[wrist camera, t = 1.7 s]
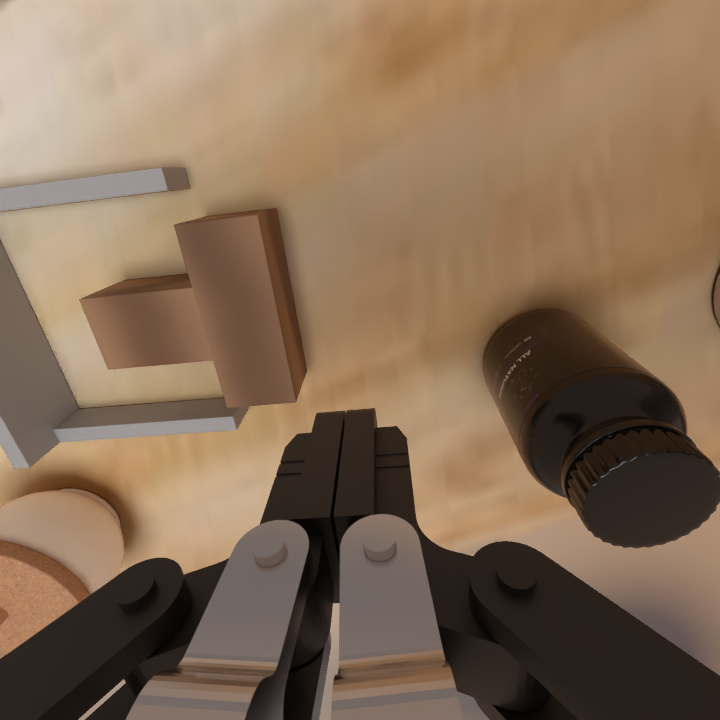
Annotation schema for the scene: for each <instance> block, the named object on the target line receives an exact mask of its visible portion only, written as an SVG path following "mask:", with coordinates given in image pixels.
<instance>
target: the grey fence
mask: <svg viewBox="0 0 720 720" xmlns="http://www.w3.org/2000/svg"><path fill="white" fill-rule="evenodd" d="M189 188H190V187H189V183H188V179H187V176H186V172H185V168H155V169H147V170H139V171H131V172H124V173H116V174H108V175H101V176H93V177H85V178H78V179H70V180H62V181H55V182H47V183H39V184H31V185H24V186H16V187H8V188H1V189H0V212H4V211H12V210H20V209H28V208H36V207H44V206H52V205H60V204H68V203H76V202H84V201H93V200H101V199H109V198H117V197H125V196H133V195H141V194H149V193H157V192H165V191H173V190H181V189H189ZM247 410H248V406H243V407H230V408H227V406H226V402H225V399H224V398H215V399H202V400H189V401H176V402H163V403H150V404H137V405H124V406H111V407H98V408H85V409H79V407H78V405H77V403H76V401H75V399H74V396H73V394H72V392H71V390H70V388H69V386H68V384H67V382H66V379H65V377H64V375H63V373H62V371H61V369H60V367H59V365H58V362H57V360H56V358H55V356H54V354H53V352H52V350H51V348H50V345H49V343H48V341H47V339H46V337H45V335H44V333H43V331H42V328H41V326H40V324H39V322H38V320H37V318H36V316H35V314H34V311H33V309H32V307H31V305H30V303H29V301H28V299H27V297H26V294H25V292H24V290H23V288H22V286H21V284H20V282H19V280H18V277H17V275H16V273H15V271H14V269H13V267H12V265H11V263H10V261H9V258H8V256H7V254H6V252H5V250H4V248H3V246H2V244H1V241H0V445H1V447H2V448H3V450H4V452H5V453H6V455H7V457H8V458H9V460H10V462H11V464H12V465H13V467H14V469H16V468H30V467H31V466H32V465H34V464H35V463H36V462H37V461H38V460H39V459H41V458H42V457H43V456H44V455H45V454H47V453H48V452H49V451H50V450H51V449H52V448H54V447H55V446H56V445H57V444H58V443H60V442H71V441H85V440H99V439H114V438H128V437H142V436H157V435H171V434H186V433H200V432H214V431H229V430H237V429H238V427H239V425H240V423H241V421H242V420H243V418H244V416H245V414H246V412H247Z"/></svg>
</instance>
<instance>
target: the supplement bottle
mask: <svg viewBox="0 0 720 720" xmlns="http://www.w3.org/2000/svg"><path fill="white" fill-rule="evenodd" d="M484 376H485V380H486V383H487V385H488V388H489V390H490V392H491V395H492V397H493V399H494V401H495V403H496V405H497V407H498V409H499V411H500V414H501V416H502V418H503V420H504V422H505V424H506V426H507V428H508V431H509V433H510V435H511V437H512V439H513V441H514V443H515V445H516V447H517V450H518V452H519V454H520V456H521V458H522V460H523V462H524V464H525V465H526V467H527V469H528V471H529V472H530V474H531V475H532V476H533V477H534V478H535V480H536V481H537V482H539V483H540V484H541V485H542V486H544V487H545V488H546V489H548V490H549V491H551V492H553V493H555V494H557V495H559V496H562V497H564V498H567V499H568V501H569V502H570V504H571V505H572V506H573V507H574V508H575V510H576V511H577V513H578V515H579V517H580V518H581V520H582V522H583V524H584V525H585V527H586V528H587V529H588V530H589V531H591V532H592V534H593V535H594V536H595V537H598V538H600V539H601V540H602V541H603V542H607V543H611V544H612V545H614V546H622V547H625V548H627V547H634V548H641V547H652V546H655V545H662V544H665V543H667V542H669V541H674V540H677V539H678V538H680V537H682V536H685V535H688V534H689V533H690V532H691V531H692V530H694V529H697V528H699V526H700V525H701V524H702V523H703V522H705V521H706V520H708V519H709V517H710V515H711V514H712V513H713V512H714V511H715V510H716V507H717V505H718V504H719V502H720V477H719V476H720V472H719V471H718V469H717V468H716V467H715V466H714V464H713V463H712V462H711V460H710V459H709V458H708V457H706V456H705V455H704V454H703V453H702V452H701V451H700V450H699V449H698V448H697V447H696V445H695V444H694V443H693V441H692V440H691V439H690V438H689V437H688V436H687V421H686V415H685V412H684V409H683V407H682V404H681V402H680V401H679V399H678V398H677V396H676V395H675V394H674V393H673V391H672V390H671V389H670V388H669V387H667V386H666V385H665V384H664V383H663V382H662V381H661V380H659V379H658V378H657V377H656V376H654V375H653V374H652V373H650V372H649V371H648V370H647V369H645V368H644V367H643V366H642V365H640V364H639V363H638V362H636V361H635V360H634V359H633V358H631V357H630V356H629V355H627V354H626V353H625V352H624V351H622V350H621V349H620V348H618V347H617V346H616V345H615V344H613V343H612V342H611V341H609V340H608V339H607V338H606V337H604V336H603V335H602V334H600V333H599V332H598V331H597V330H595V329H594V328H593V327H591V326H590V325H589V324H587V323H586V322H585V321H583V320H582V319H580V318H578V317H577V316H575V315H573V314H570V313H567V312H564V311H558V310H539V311H534V312H530V313H527V314H524V315H522V316H520V317H518V318H516V319H514V320H512V321H511V322H509V323H508V324H506V325H505V326H504V327H503V328H502V329H501V330H500V331H499V332H498V333H497V334H496V335H495V336H494V338H493V339H492V341H491V342H490V344H489V346H488V348H487V351H486V354H485V358H484Z"/></svg>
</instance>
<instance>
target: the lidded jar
mask: <svg viewBox="0 0 720 720" xmlns="http://www.w3.org/2000/svg"><path fill="white" fill-rule="evenodd" d="M120 527H121V524H120V519H119V516H118V514H117V512H116V511H115V510H114V508H113V507H112V506H111V505H110V504H109V503H108V502H107V501H105V500H104V499H102V498H101V497H99V496H97V495H96V494H94V493H91V492H88V491H85V490H82V489H76V488H65V489H60V490H57V491H56V490H55V491H43V492H37V493H32V494H29V495H25V496H22V497H19V498H17V499H14V500H12V501H10V502H7V503H5V504H3V505H1V506H0V653H1V654H5V655H7V654H8V653H9V652H11V651H12V650H14V649H15V648H16V647H18V646H19V645H21V644H22V643H23V642H25V641H26V640H28V639H29V638H31V637H32V636H33V635H35V634H36V633H38V632H39V631H40V630H42V629H43V628H45V627H46V626H47V625H49V624H50V623H52V622H53V621H54V620H56V619H57V618H59V617H60V616H61V615H63V614H64V613H66V612H67V611H68V610H70V609H71V608H73V607H74V606H75V605H77V604H78V603H80V602H81V601H82V600H84V599H85V598H87V597H88V596H89V595H91V594H92V593H94V592H95V591H96V590H98V589H99V588H101V587H102V586H103V585H105V584H106V583H108V582H109V581H110V580H112V579H113V578H115V577H116V576H118V575H119V573H120V571H121V568H122V562H123V557H124V539H123V535H122V532H121V528H120Z"/></svg>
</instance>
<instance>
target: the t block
mask: <svg viewBox="0 0 720 720" xmlns="http://www.w3.org/2000/svg"><path fill="white" fill-rule="evenodd" d="M174 227H175V231H176V234H177V237H178V241H179V244H180V248H181V251H182V255H183V258H184V261H185V265H186V268H187V272H188V274H179V275H169V276H160V277H151V278H141V279H132V280H123V281H121V282H119V283H116V284H114V285H112V286H109V287H107V288H105V289H102V290H100V291H98V292H95V293H93V294H91V295H88V296H86V297H84V298H81V299H79V301H80V303H81V305H82V308H83V310H84V313H85V315H86V317H87V320H88V322H89V325H90V327H91V329H92V332H93V334H94V337H95V339H96V341H97V344H98V346H99V349H100V351H101V353H102V356H103V358H104V361H105V363H106V365H107V368H108V370H110V369H121V368H132V367H143V366H155V365H166V364H177V363H188V362H200V361H211V360H213V361H214V364H215V368H216V371H217V375H218V378H219V382H220V385H221V388H222V392H223V395H224V399H225V402H226V406H227V408H230V407H243V406H256V405H268V404H281V403H293V402H296V401H297V398H298V395H299V392H300V389H301V386H302V383H303V381H304V378H305V375H306V372H307V369H306V363H305V358H304V352H303V347H302V342H301V336H300V331H299V326H298V320H297V315H296V310H295V304H294V299H293V293H292V288H291V283H290V277H289V272H288V267H287V261H286V256H285V250H284V245H283V240H282V234H281V229H280V224H279V218H278V213H277V208H273V209H265V210H256V211H248V212H239V213H231V214H222V215H214V216H206V217H202V218H198V219H195V220H191V221H187V222H183V223H179V224H176V225H174Z"/></svg>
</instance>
